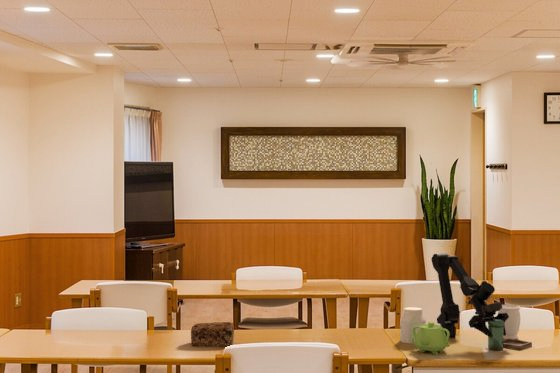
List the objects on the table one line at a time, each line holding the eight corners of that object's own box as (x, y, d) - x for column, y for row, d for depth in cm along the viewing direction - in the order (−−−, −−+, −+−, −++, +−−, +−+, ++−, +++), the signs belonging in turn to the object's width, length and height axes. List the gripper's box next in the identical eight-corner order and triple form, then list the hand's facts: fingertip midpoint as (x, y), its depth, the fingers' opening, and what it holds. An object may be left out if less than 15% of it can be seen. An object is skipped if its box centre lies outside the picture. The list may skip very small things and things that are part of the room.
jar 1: (403, 343, 365) (403, 310, 365) (398, 339, 375) (398, 307, 375) (428, 343, 366) (428, 310, 366) (422, 338, 376) (422, 306, 376)
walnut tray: (496, 347, 358) (496, 342, 358) (508, 343, 366) (508, 338, 366) (519, 351, 350) (520, 346, 350) (531, 347, 358) (531, 342, 358)
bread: (234, 342, 368) (234, 320, 368) (232, 347, 358) (232, 324, 357) (193, 342, 369) (193, 320, 369) (190, 347, 358) (190, 324, 358)
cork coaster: (487, 352, 347) (487, 351, 347) (482, 348, 356) (482, 347, 356) (508, 352, 347) (508, 351, 347) (503, 348, 356) (503, 347, 356)
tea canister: (489, 351, 348) (490, 322, 348) (486, 347, 355) (486, 319, 354) (505, 351, 348) (505, 322, 348) (501, 347, 355) (501, 319, 354)
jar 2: (521, 340, 372) (521, 308, 372) (498, 339, 374) (498, 307, 374) (519, 336, 382) (519, 304, 382) (496, 335, 384) (496, 303, 384)
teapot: (453, 355, 342) (454, 326, 341) (421, 356, 340) (421, 326, 340) (441, 347, 358) (441, 319, 357) (410, 348, 356) (410, 319, 356)
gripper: (473, 297, 350) (490, 326, 341) (506, 294, 359) (523, 323, 349) (461, 312, 357) (477, 342, 348) (494, 309, 366) (510, 338, 356)
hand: (497, 335), depth 350 cm, fingers open, 8 cm apart
